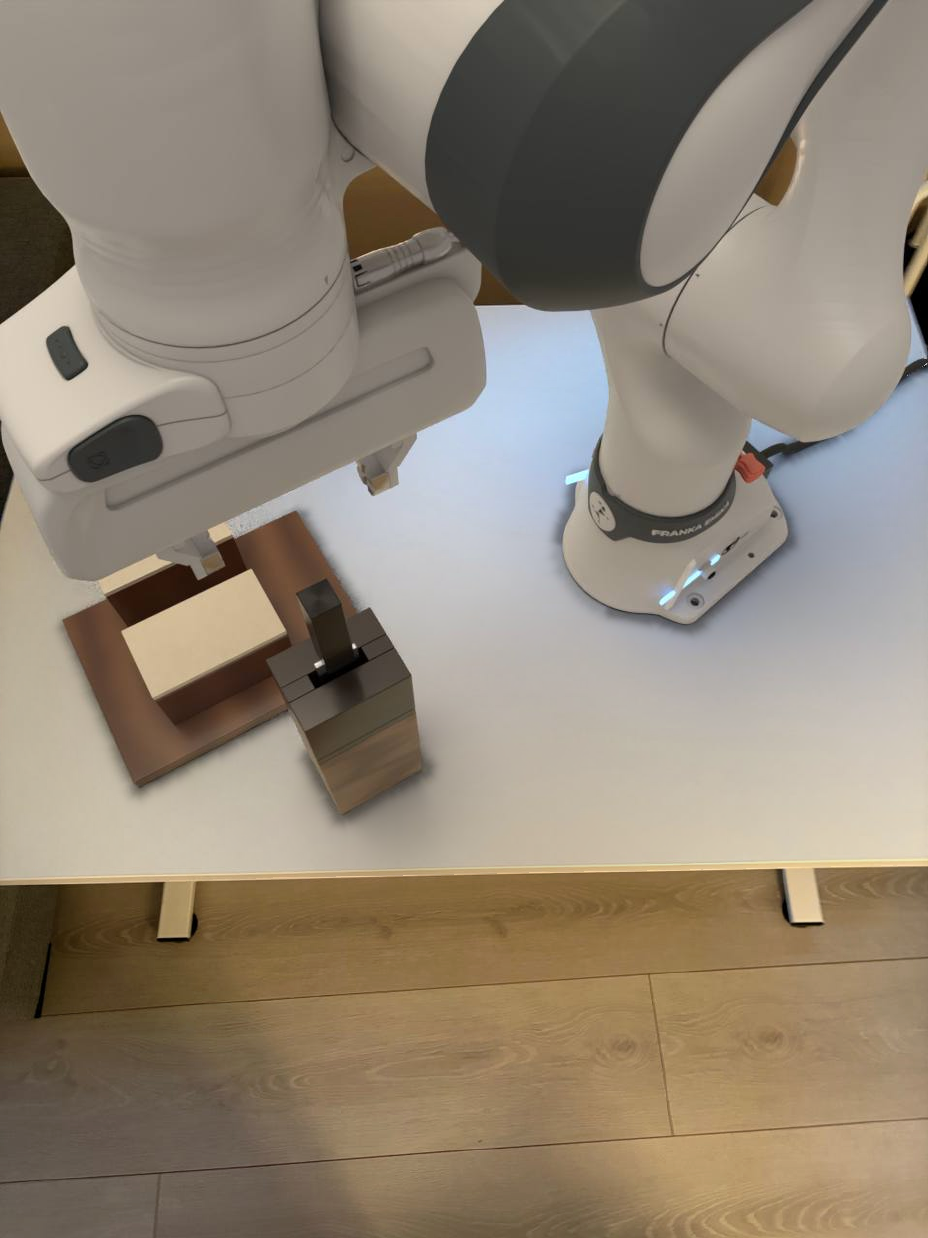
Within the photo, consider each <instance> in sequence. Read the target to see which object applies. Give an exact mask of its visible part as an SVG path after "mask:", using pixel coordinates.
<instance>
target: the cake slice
mask: <svg viewBox="0 0 928 1238" xmlns="http://www.w3.org/2000/svg"><path fill="white" fill-rule="evenodd" d="M208 532H209V534H210V536H211V538H212V540H213V541H214V543H215V545H216V547H217V549H218V551H219V553H220V555H221V557H222V560H223V562H224V564H225V567H223V568H221V569H219V570H217V571H215V572H213V573H211V574H209V575H207V576H205V577H204V578H202V579H200V580H198V579H197V577H196V575H195V574H194V572H193V570H192V568H191V566H190V565H188V566H186V565H182V564H178V563H174V562H169V561H165V560H161V559H158V557H157V556H156V554H154V555H152V556H150V557H148V558H145V559H143V560H141V561H139V562H137V563H135V564H132V565H130V566H128V567H126V568H124V569H122V570H120V571H117V572H115V573H113V574H111V575H109V576H107V577H105V578H103V579H101V580H97V581H96V582H97V583H98V585H99V587H100V590H101V592H102V594H103V596H104V597H105V599H108V601H109V602H110V603H111V605H112V606H113V608H114V609H115V610H116V612H117V613H118V614H119V616H120V617H121V618H122V620H123V621H124V623H125V624H126V625H127V627H130V626H132V625H134V624H136V623H138V622H140V621H142V620H144V619H146V618H148V617H151V616H153V615H155V614H157V613H159V612H161V611H163V610H165V609H167V608H169V607H171V606H173V605H176V604H178V603H180V602H182V601H184V600H186V599H188V598H190V597H192V596H194V595H196V594H199V593H201V592H203V591H205V590H207V589H209V588H211V587H213V586H215V585H217V584H219V583H221V582H224V581H226V580H228V579H230V578H232V577H234V576H236V575H238V574H240V573H242V572H244V571H246V570H247V568H246V566H245V563H244V561H243V559H242V556H241V554H240V551H239V549H238V547H237V544H236V542H235V537H234V534H233V532H232V531H231V529H230V527H229V525H228V524H227V521H225V522H223V523H221V524H219V525H217V526H214V527H212V528H210V529H208Z"/></svg>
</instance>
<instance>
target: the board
mask: <svg viewBox="0 0 928 1238" xmlns="http://www.w3.org/2000/svg"><path fill="white" fill-rule="evenodd" d="M234 539H235V542H236V544H237V547H238V549H239V551H240V554H241V556H242V559H243V561H244V563H245V566H246V568H247V570H246V571H248V570H250V569H252V570H253V572H254V574H255V576H256V577H257V579H258V581H259V583H260V585H261V586H262V588H263V590H264V592H265V594H266V595H267V597H268V599H269V601H270V603H271V604H272V606H273V608H274V610H275V612H276V613H277V615H278V617H279V619H280V621H281V622H282V624H283V626H284V628H285V630H286V632H287V634H288V637H289V639H290V642H291V645H292V646H294V645H296V644H298V643H300V642H302V641H304V640H306V639H308V638H310V634H309V631H308V628H307V625H306V622H305V619H304V616H303V613H302V610H301V607H300V604H299V601H298V598H297V595H296V593H297V592H299V591H301V590H303V589H305V588H307V587H309V586H311V585H313V584H315V583H317V582H319V581H321V580H323V579H325V578H327V579H328V581H329V583H330V584H331V586H332V588H333V589H334V591H335V593H336V594H337V596H338V598H339V599H340V601H341V603H342V606H343V610H344V614H345V618H346V619H347V618H349V617H351V616H353V615H355V614H357V613H359V612H358V610H357V608H356V607H355V605H354V604H353V601H352V600H351V599H350V597H349V595H348V594H347V592H346V590H345V589H344V587H343V585H342V583H340V580H339V579H338V577H337V575H336V574H335V572H334V570H333V569H332V567H331V566H330V563H329V562H328V561H327V559H326V557H325V556H324V554H323V552H322V551H321V548H320V547H319V546H318V544H317V542H316V541H315V539H314V538H313V536H312V534H311V532H310V530H309V529H308V527H307V525H306V524H305V522H304V521H303V519H302V517H301V516H300V513H299V512H298V511H297V510H295V509H294V510H293V511H291V512H289V513H286V514H284V515H282V516H280V517H278V518H276V519H274V520H272V521H269V522H267V523H265V524H264V525H261V526H259V527H257V528H254V529H253V530H250V531H249V532H246V533H244V534H241V535H240V536H238V537H234ZM244 572H245V571H244ZM242 573H243V572H242ZM240 574H241V573H240ZM238 575H239V574H238ZM236 576H237V575H236ZM234 577H235V576H234ZM232 578H233V577H232ZM230 579H231V578H230ZM228 580H229V579H228ZM226 581H227V580H226ZM224 582H225V581H224ZM221 583H223V582H221ZM219 584H220V583H219ZM217 585H218V584H217ZM215 586H216V585H215ZM213 587H214V586H213ZM211 588H212V587H211ZM209 589H210V588H209ZM207 590H208V589H207ZM205 591H206V590H205ZM203 592H204V591H203ZM201 593H202V592H201ZM199 594H200V593H199ZM196 595H198V594H196ZM194 596H195V595H194ZM192 597H193V596H192ZM190 598H191V597H190ZM188 599H189V598H188ZM186 600H187V599H186ZM184 601H185V600H184ZM182 602H183V601H182ZM180 603H181V602H180ZM178 604H179V603H178ZM176 605H177V604H176ZM173 606H175V605H173ZM173 606H171V607H173ZM169 608H170V607H169ZM167 609H168V608H167ZM165 610H166V609H165ZM163 611H164V610H163ZM161 612H162V611H161ZM159 613H160V612H159ZM157 614H158V613H157ZM155 615H156V614H155ZM153 616H154V615H153ZM151 617H152V616H151ZM148 618H150V617H148ZM146 619H147V618H146ZM144 620H145V619H144ZM61 621H62V623H63V626H64V627H65V630H66V632H67V634H68V637H69V639H70V641H71V644H72V646H73V648H74V650H75V653H76V655H77V657H78V659H79V662H80V664H81V667H82V668H83V671H84V674H85V676H86V678H87V681H88V682H89V684H90V687H91V689H92V692H93V694H94V696H95V698H96V700H97V703H98V705H99V707H100V710H101V712H102V714H103V717H104V719H105V720H106V723H107V725H108V727H109V730H110V733H111V734H112V738H113V739H114V741H115V744H116V746H117V749H118V750H119V753H120V755H121V757H122V758H121V759H122V760H123V762H124V765H125V767H126V768H127V771H128V774H129V776H130V778H131V780H132V782H133V784H135V785H136V786H137V787H138V788H141V787H142V786H145V785H146V784H149V783H150V782H152V781H154V780H156V779H158V778H160V777H162V776H163V775H166V774H168V773H169V772H172V771H173V770H176V769H177V768H179V767H181V766H183V765H184V764H186V763H189V762H190V761H192V760H194V759H196V758H199V757H200V756H202V755H204V754H206V753H207V752H209V751H211V750H213V749H215V748H217V747H220V746H222V745H224V743H227V742H228V741H230V740H232V739H235V738H236V737H238V736H240V735H242V734H243V733H245V732H248V731H249V730H251V729H253V728H256V727H258V726H259V725H261V724H263V723H266V722H267V721H269V720H271V719H272V718H274V717H276V716H279V715H280V714H282V713H284V712H286V711H287V710H288V708H287V706H286V704H285V702H284V699H283V697H282V695H281V693H280V691H279V689H278V687H277V684H276V682H275V680H274V678H273V676H271V677H269V678H267V679H265V680H263V681H261V682H259V683H257V684H255V685H253V686H251V687H249V688H247V689H245V690H243V691H241V692H239V693H237V694H236V695H234V696H232V697H230V698H228V699H226V700H224V701H222V702H220V703H218V704H216V705H214V706H212V707H210V708H208V709H206V710H204V711H202V712H200V713H198V714H196V715H195V716H193V717H191V718H189V719H187V720H185V721H183V722H181V723H179V724H177V725H174V724H173V723H172V722H171V720H170V719H169V718H168V717H167V716H166V714H165V713H164V712H163V711H162V709H161V708H160V707H159V706H158V704H157V703H156V702H155V701H154V699H153V698H152V696H151V694H150V692H149V690H148V688H147V686H146V684H145V681H144V679H143V677H142V675H141V673H140V671H139V669H138V667H137V664H136V662H135V660H134V658H133V656H132V654H131V652H130V649H129V647H128V645H127V643H126V641H125V639H124V637H123V635H122V632H121V631H122V630H125V629H127V628H129V627H127V625H126V624H125V623H124V621H123V620H122V618H121V617H120V616H119V614H118V613H117V612H116V610H115V609H114V608H113V606H112V605H111V603H110V602H109V601H108V599H107V598H105V599H103V600H101V601H99V602H97V603H95V604H93V605H90V606H89V607H86V608H83V609H81V610H80V611H78V612H76V613H74V614H71V615H70V616H69V615H68V616H67V617H65V618H63V619H62V620H61ZM142 621H143V620H142ZM140 622H141V621H140ZM138 623H139V622H138ZM136 624H137V623H136ZM134 625H135V624H134ZM132 626H133V625H132ZM130 627H131V626H130ZM288 711H289V710H288Z"/></svg>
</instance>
